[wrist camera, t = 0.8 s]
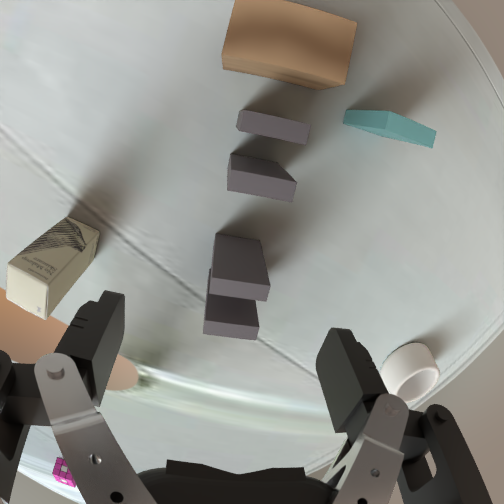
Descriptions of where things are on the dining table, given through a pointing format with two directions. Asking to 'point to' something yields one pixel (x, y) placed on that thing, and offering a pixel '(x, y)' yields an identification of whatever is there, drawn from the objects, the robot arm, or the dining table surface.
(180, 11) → the dining table surface
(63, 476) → the puzzle toy
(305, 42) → the end block
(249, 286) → the domino
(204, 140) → the dining table surface
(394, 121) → the domino
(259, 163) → the domino
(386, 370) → the mug
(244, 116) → the domino
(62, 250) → the box
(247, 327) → the domino
